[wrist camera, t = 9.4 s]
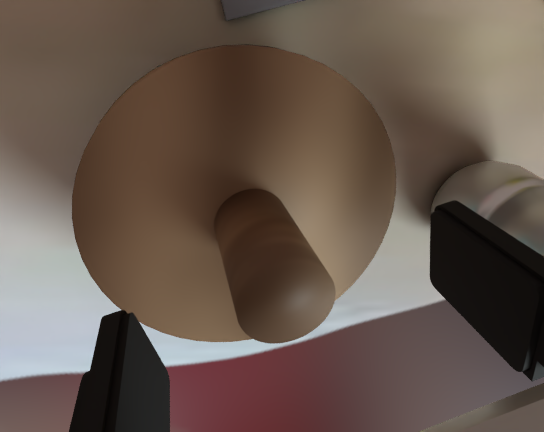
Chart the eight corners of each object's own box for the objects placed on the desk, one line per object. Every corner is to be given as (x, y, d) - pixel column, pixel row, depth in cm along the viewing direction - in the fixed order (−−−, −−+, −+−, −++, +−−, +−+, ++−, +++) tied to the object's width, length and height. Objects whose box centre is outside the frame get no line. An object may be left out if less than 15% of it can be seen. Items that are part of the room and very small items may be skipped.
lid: (371, 3, 13) (508, -5, 8) (388, 273, 20) (469, 364, 15) (3, 102, 12) (-123, 171, 7) (154, 358, 19) (152, 494, 13)
